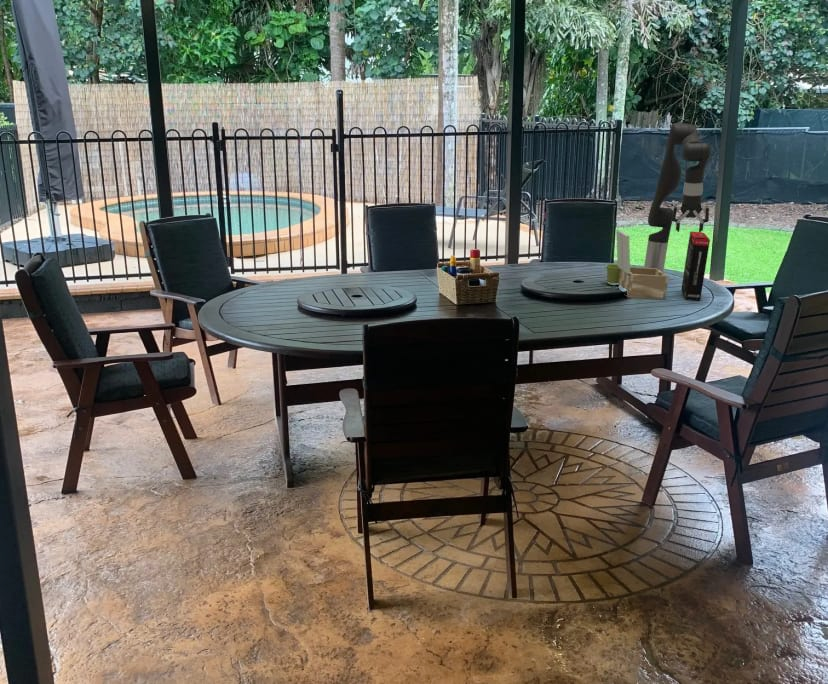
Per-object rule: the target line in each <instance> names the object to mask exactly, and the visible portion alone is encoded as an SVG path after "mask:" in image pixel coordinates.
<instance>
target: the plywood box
mask: <svg viewBox="0 0 828 684" xmlns="http://www.w3.org/2000/svg"><path fill="white" fill-rule="evenodd" d="M668 283H669V276H668V275H667V274H666V273H665V272H664V271H663V272H661V271H660V270H658V269H656V268H644V267H635V266H630V275H629V276H628V275H627V274H626V273H624V272H623V271H622V270H621V271H620V278H619V285H621V286H622V287H623V288H625V289H626V290H627V295H625V296H626V297H627V298H629V299H630V298H632V299H633V298H634V299H635V298H636V299H649V300H650V299H652V300H666V297H667V296H666V294H667V289H668Z"/></svg>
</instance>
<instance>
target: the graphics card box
mask: <svg viewBox="0 0 828 684" xmlns="http://www.w3.org/2000/svg"><path fill="white" fill-rule="evenodd" d="M710 241H711V239H710V238H709V237H708V236H707V235H706V234H705V232H702V231H701V232H699V231H691V230H690V233H689V237H688V244H687V250H686V257H685V262H684V263H685V264H684V270H683V277H682V282H681V293H682V295H683V297H684V299H685V300H688V299H691V300H690V301H701V297H702V292H703V291H702V290H703V285H704V279H705V273H706V269H707V261H708V254H709V248H710Z"/></svg>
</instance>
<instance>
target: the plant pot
mask: <svg viewBox="0 0 828 684" xmlns="http://www.w3.org/2000/svg"><path fill="white" fill-rule="evenodd" d="M605 267H606V276H607V278H606V279H607V280H606V281H607V282H610V283H619V278H620V271H621V269H619V268H618V263H615V264H614V263H609V264H608V263H607V264H606V265H605ZM607 282H606V283H607Z"/></svg>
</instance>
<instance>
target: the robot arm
mask: <svg viewBox="0 0 828 684" xmlns="http://www.w3.org/2000/svg"><path fill="white" fill-rule="evenodd" d="M676 146H681V148H682V159H683V160H684V161H686V162H698V163H697V164H696V165H693V166H689V167H687V168H686V169H685V175H684V184H683V187H682V188H683V191H682V201H681V206H676V205H675V206H673V208H671V207H661V206H662V204H663V202H664V201H665V200H666V199H667V198H668V197H669V196H670V195H671V194H672V193H673V192H675V190H676V189H677V188H679V187H678V186H679V184H680V181H681V177H682V174H683V173H682V168H681V165H680V162H679V161H678V158H677V155H676V153H675V152H676V151H675V147H676ZM711 149H712V148H711V146H710V144H709V143H706V142H704V143H703V142H701V141H700V139H699V135H698V131H697V127H696V125H694V124H692V123H683V122H674V123H672V124H671V126H670V129H669V132H668V137H667V142H666V148H665V154H664V157H663V161H662V165H661V168H660V172H659V175H658V179H657V185H656V189H655V194H654V197H653V200H652V204H651V206H650V209H649V211H648V216H647V224H648V225H649V226H650V227H652V228H653V227H654V228H661V230H659V231H657V232H653V233H650V234H649V235H648V238H647V239H648V240H647V246H646V252H645V259H644V264H643V265H644V266H643V268H656V269H658V270H660V271H661V272H663V273H664V270H665V264H666V258H667V253H668V252H667V251H668V245H669V238H670V233H671V228H672V224H673V223H674V222H675V231H677V233H679V232H680V229H681V222H682V221H683V220H684V218H686V219H689V218H692V219H694V218H697V220H698V221H699V227H698V232H701V233H702V232H703V230H704V224H705V223H709V220H710V218H709V215H710V208H709V206H706V207H702V201H703V200H702V199H703V192H704V184H703V182H704V174H705V170H706V166H707V164H708V162H709V158H710V157H711V151H712V150H711ZM702 211H703V214H705V215H704V218H702V216H701V214H700V213H701V212H702ZM679 212H681V214H680V215H679V217H677V213H679Z"/></svg>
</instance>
